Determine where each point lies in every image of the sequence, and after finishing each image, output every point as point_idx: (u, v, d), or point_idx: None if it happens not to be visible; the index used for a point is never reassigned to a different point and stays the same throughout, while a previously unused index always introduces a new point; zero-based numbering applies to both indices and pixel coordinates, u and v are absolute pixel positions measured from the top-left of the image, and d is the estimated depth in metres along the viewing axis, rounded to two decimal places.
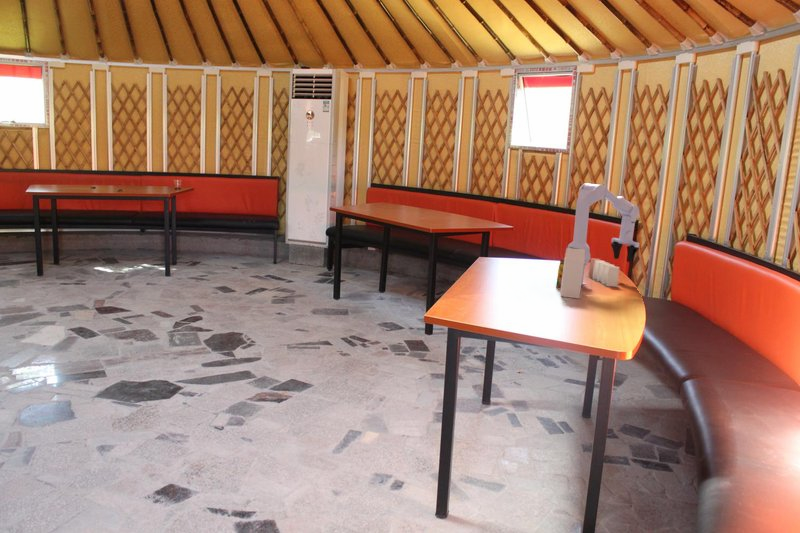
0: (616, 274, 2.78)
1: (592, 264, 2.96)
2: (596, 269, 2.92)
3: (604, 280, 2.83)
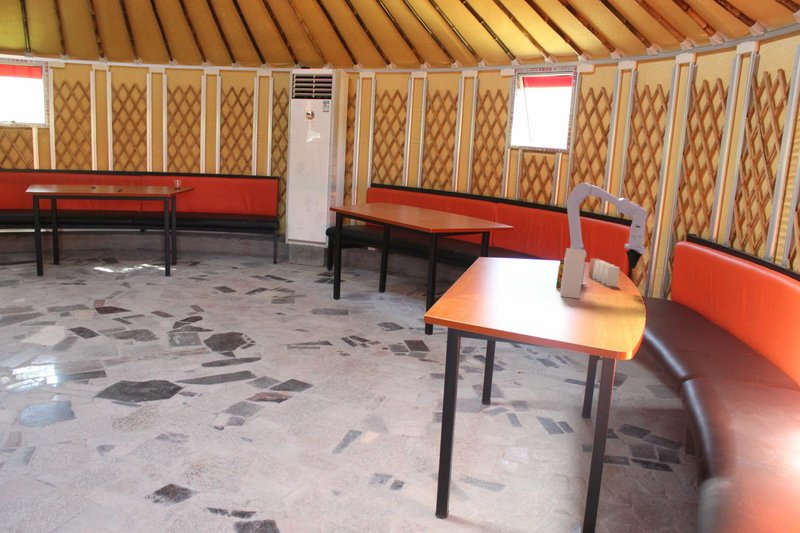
0: (616, 274, 2.78)
1: (592, 264, 2.96)
2: (596, 269, 2.92)
3: (604, 280, 2.83)
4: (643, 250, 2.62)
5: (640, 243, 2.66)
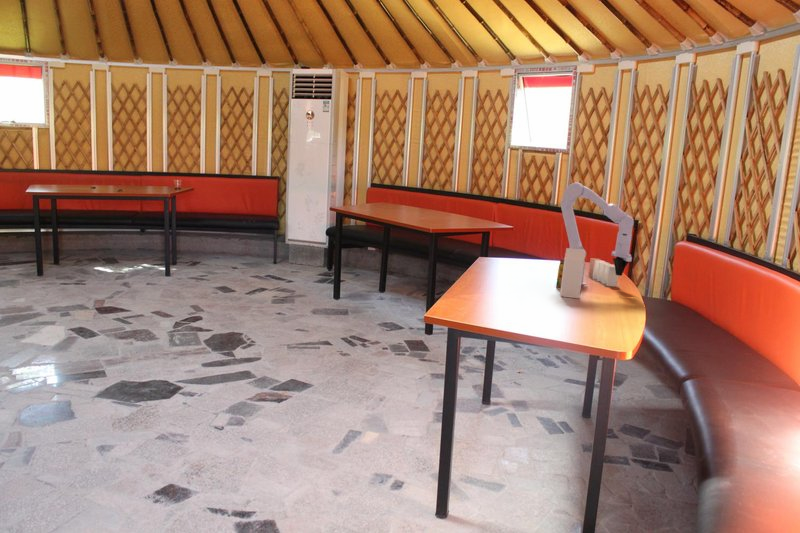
0: None
1: (592, 264, 2.96)
2: (596, 269, 2.92)
3: (604, 280, 2.83)
4: (629, 258, 2.65)
5: (626, 251, 2.69)
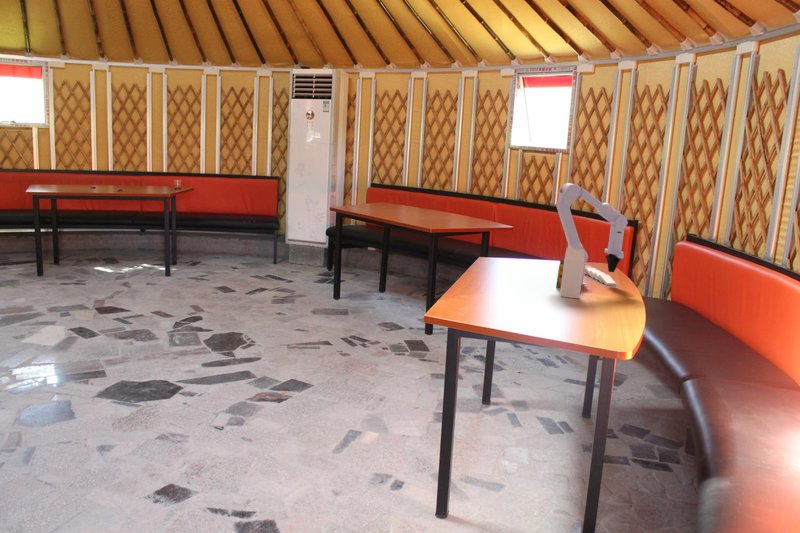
0: (609, 277, 2.85)
1: (585, 267, 3.03)
2: None
3: None
4: (621, 255, 2.72)
5: (619, 248, 2.76)
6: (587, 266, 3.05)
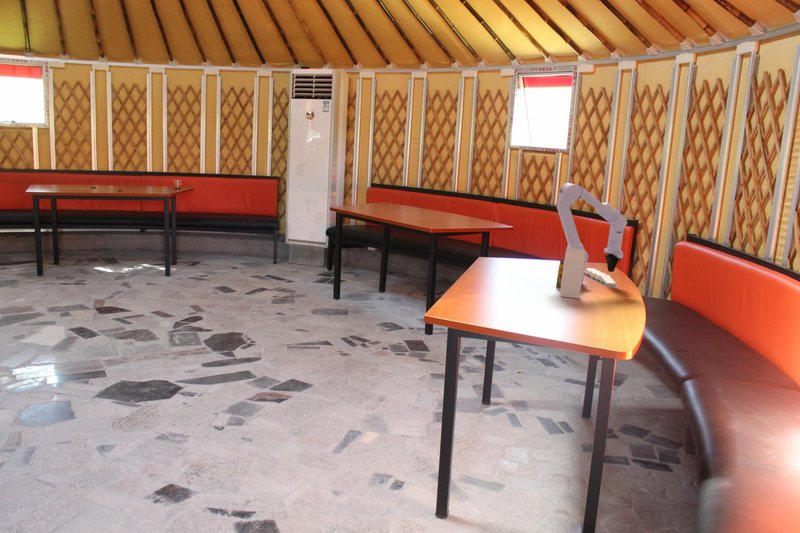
0: (609, 277, 2.85)
1: None
2: None
3: None
4: (621, 254, 2.72)
5: (618, 248, 2.77)
6: (585, 271, 3.06)
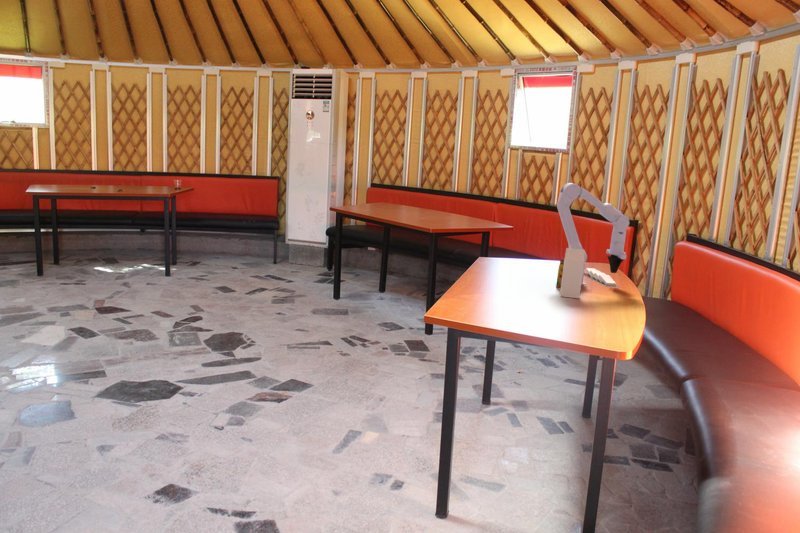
0: (609, 277, 2.85)
1: None
2: None
3: None
4: (624, 255, 2.70)
5: (621, 249, 2.74)
6: (585, 271, 3.06)
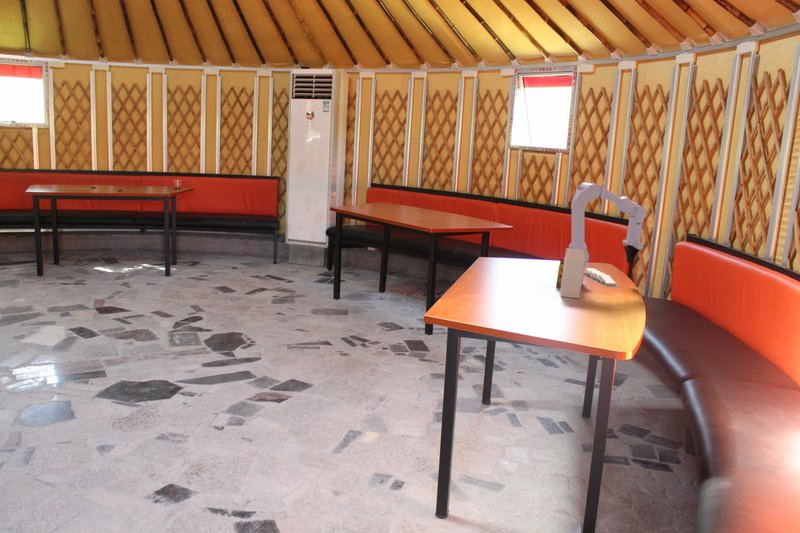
0: (609, 277, 2.85)
1: None
2: None
3: None
4: (640, 246, 2.75)
5: (637, 239, 2.79)
6: (585, 271, 3.06)
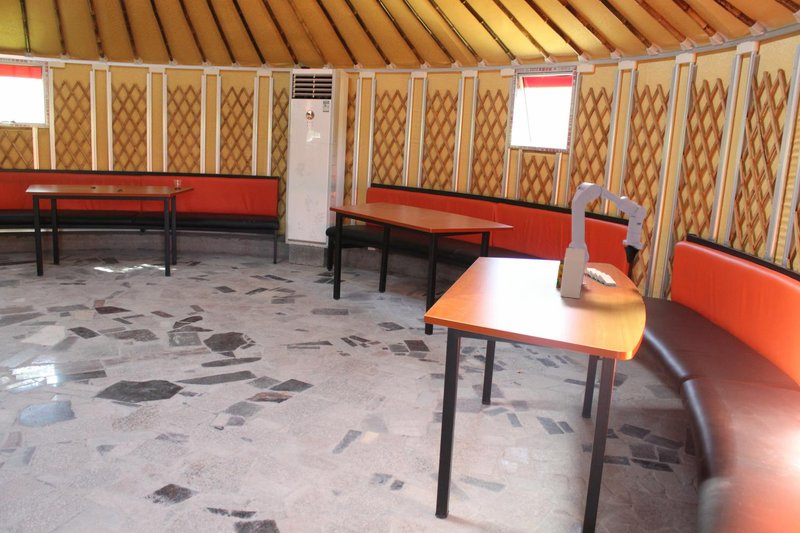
0: (609, 277, 2.85)
1: None
2: None
3: None
4: (640, 246, 2.75)
5: (637, 239, 2.79)
6: (585, 271, 3.06)
